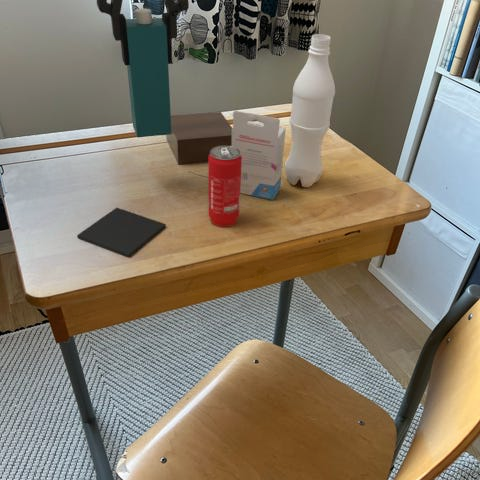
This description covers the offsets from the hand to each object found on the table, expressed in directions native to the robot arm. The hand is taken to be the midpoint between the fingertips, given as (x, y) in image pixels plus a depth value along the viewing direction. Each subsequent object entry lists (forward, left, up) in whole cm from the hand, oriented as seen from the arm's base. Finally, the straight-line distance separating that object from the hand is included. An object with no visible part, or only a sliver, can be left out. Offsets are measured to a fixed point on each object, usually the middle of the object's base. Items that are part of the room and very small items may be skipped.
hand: (147, 61), depth 82 cm
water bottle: (+24, +15, -21) cm, 35 cm away
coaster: (+6, -17, -21) cm, 28 cm away
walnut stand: (0, +16, -21) cm, 26 cm away
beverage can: (+17, -5, -21) cm, 28 cm away
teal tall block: (0, 0, -3) cm, 3 cm away
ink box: (+18, +7, -21) cm, 28 cm away
